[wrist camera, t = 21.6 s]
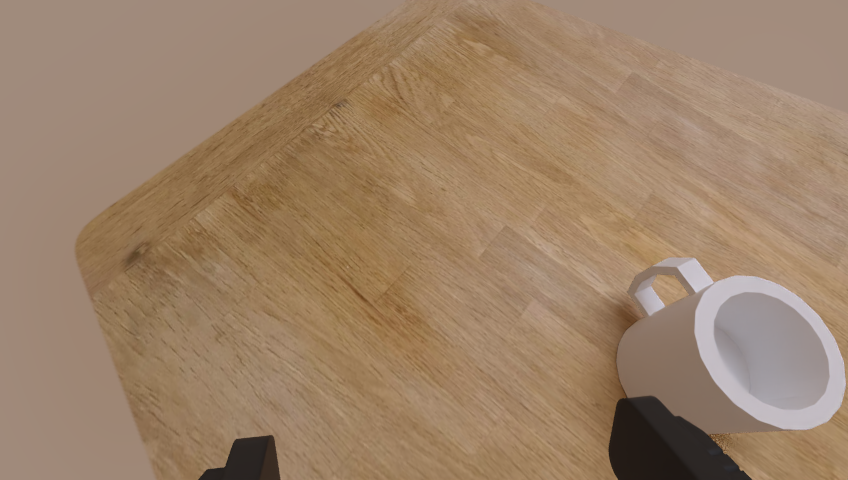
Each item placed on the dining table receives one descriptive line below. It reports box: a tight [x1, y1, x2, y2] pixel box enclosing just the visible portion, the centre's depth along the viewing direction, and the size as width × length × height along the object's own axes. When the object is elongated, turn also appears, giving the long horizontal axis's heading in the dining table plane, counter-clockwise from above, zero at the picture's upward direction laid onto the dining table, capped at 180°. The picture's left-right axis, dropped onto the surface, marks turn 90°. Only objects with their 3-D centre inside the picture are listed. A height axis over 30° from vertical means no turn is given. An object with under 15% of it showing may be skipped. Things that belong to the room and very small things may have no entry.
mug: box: [616, 257, 846, 434], centre depth 34 cm, size 14×10×11 cm
